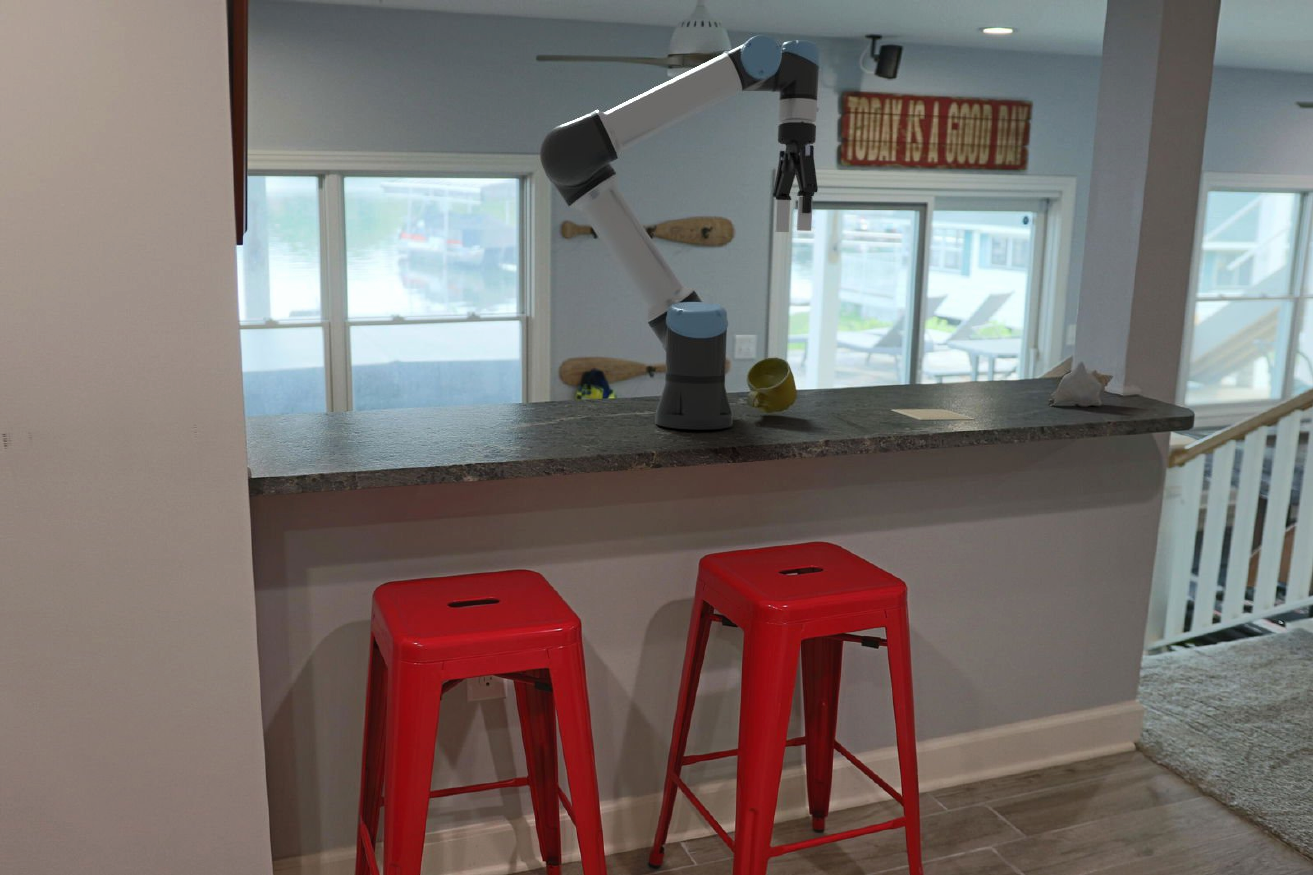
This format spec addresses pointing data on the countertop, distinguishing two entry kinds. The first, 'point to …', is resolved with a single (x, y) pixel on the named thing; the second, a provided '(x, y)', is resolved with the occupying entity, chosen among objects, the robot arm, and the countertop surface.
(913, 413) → the mat
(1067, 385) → the seashell
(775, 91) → the robot arm
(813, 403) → the countertop surface
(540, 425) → the countertop surface
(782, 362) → the mug
